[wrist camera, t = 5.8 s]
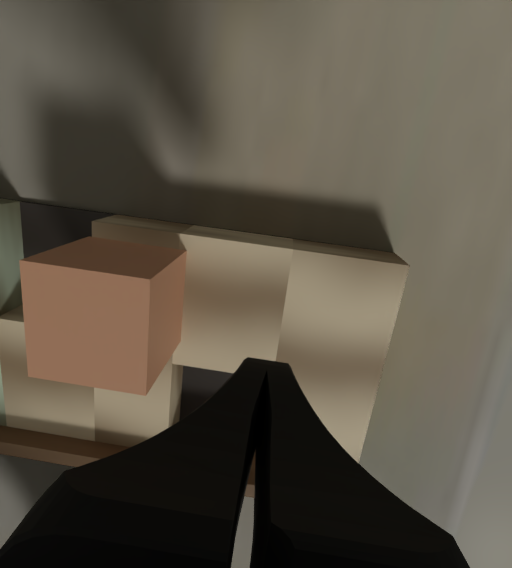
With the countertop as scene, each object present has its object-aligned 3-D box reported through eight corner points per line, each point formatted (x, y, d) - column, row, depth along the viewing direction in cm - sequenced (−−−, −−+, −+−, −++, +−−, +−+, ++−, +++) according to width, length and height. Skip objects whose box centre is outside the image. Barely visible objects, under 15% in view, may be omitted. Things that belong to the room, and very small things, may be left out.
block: (180, 341, 18) (145, 395, 14) (90, 327, 18) (28, 376, 14) (186, 250, 16) (150, 279, 12) (88, 236, 17) (19, 260, 12)
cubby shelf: (350, 462, 22) (361, 516, 19) (-52, 395, 23) (-111, 434, 20) (406, 237, 18) (433, 254, 14) (-87, 170, 19) (-169, 171, 16)
